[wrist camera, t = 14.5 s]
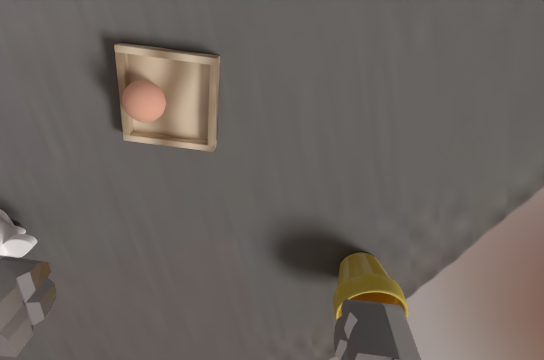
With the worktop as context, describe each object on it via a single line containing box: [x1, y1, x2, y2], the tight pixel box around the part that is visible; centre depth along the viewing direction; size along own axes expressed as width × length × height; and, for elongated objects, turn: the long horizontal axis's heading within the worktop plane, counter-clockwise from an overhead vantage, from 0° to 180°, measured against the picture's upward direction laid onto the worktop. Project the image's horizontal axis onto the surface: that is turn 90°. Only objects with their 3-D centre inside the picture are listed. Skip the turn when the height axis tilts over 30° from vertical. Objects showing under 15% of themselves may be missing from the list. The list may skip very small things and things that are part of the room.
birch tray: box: [114, 43, 220, 152], centre depth 43 cm, size 12×12×2 cm
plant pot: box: [333, 253, 408, 321], centre depth 52 cm, size 10×10×10 cm
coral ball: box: [122, 80, 166, 122], centre depth 41 cm, size 5×5×5 cm
